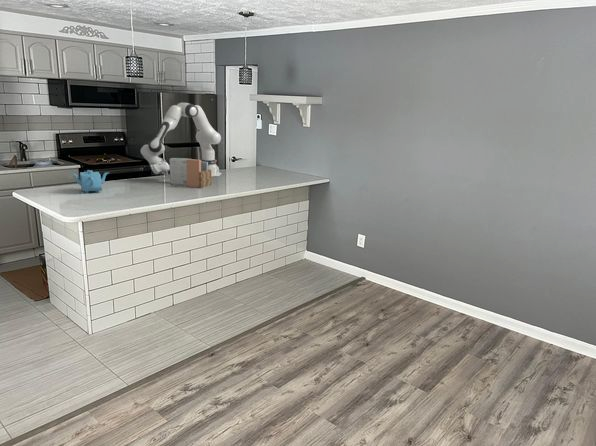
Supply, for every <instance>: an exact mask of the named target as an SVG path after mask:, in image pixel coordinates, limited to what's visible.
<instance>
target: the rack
mask: <svg viewBox="0 0 596 446" xmlns="http://www.w3.org/2000/svg"><path fill="white" fill-rule="evenodd" d="M212 182H213V181H212V177H211V169H209V170H205V171H202V172H199V189H203V188H206V187H209V186H211V185H212Z"/></svg>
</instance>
